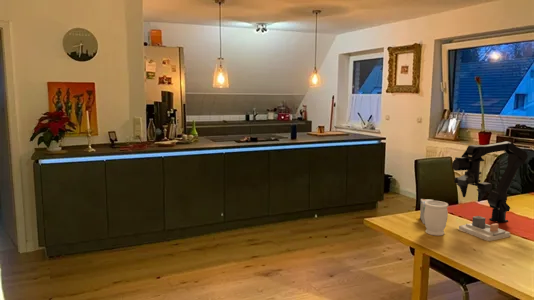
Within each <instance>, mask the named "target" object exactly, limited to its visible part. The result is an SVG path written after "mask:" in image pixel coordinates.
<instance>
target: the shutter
mask: <svg viewBox="0 0 534 300" xmlns="http://www.w3.org/2000/svg"><path fill="white" fill-rule="evenodd" d="M499 224H500V223H498V222H496V223H492V224H489V225H490V228H487V229H483V230H486V231H489V232H492V233H494V234H493V235H499V234H504V233H505V231H506V230H505V231H502V230H503V229H502V230H499V229H500V228H499ZM498 228H499V229H498Z"/></svg>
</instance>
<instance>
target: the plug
mask: <svg viewBox="0 0 534 300" xmlns="http://www.w3.org/2000/svg"><path fill="white" fill-rule="evenodd" d="M471 221H472V226H475V227H478V228H481V229H485V224H486V217H483V216H480V215H475V216H472V220H471Z"/></svg>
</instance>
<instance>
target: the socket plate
mask: <svg viewBox="0 0 534 300" xmlns="http://www.w3.org/2000/svg"><path fill="white" fill-rule="evenodd" d="M490 225H491V224H489V223H488V224H487V223H485V229H487V228H490ZM498 229H499V230H502V231H505V233H504V234H499V235H493V234H494V233H492V232H489V231H486V230H483V229H481V228H478V227H475V226H472V223H471V222H470V223H465V224H462V225H458V230H459V231H462V232H463V233H466V234H468V235H471V236H473V237H474V236H475V237H477V238H480V239H481V240H484V241H487V242H491V241H497V240H500V239H505V238H509V237H511V231H510V232H509V231H507V230H505V229H501V228H499V227H498Z"/></svg>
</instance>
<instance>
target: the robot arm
mask: <svg viewBox="0 0 534 300" xmlns="http://www.w3.org/2000/svg"><path fill="white" fill-rule="evenodd" d="M497 152H505V154H506V155H507V165H506V168H505V169H504V172H503V174H502V176H501V178H500V181H499V183H498V185H497V186H496V189H494V190H492V189H493V184H492V183H491V182H490V183H489V182H485V181H483V182H482V181H481V179H480V175H482V172H481V171H480V169H481V162H485V159H484V158H483V157H485V156H486V155H488V154H491V153H497ZM528 157H529V155H528V153H527V151H526V150H523V149H522V148H520V147H519V146H516V144H514V143H513V142H511V141H502V142H497V143H491V144H484V145H482V144H470V145H468V146H467V147H466V149H465V151H464V152H463V154H462V155H461V156H460V157H458V156H456V157H454V160H453V161H452V164H451V167H452V169H453V170H454V172H459V171H460V172H461V171H464V174H463V175H461V176H457V177H455V178H454V179H453V183H455V185H457V186H458V187H459V189H460V192H461V196H462V198H466V196H467V190H468V186H469V185H471V186H475V187H477V189H476V191H477V201H478V202H479V203H480V202H481V201H482V199H483V198H484V196H485V195H486V194H487V192H488V191H489V193H488V195H487V200H486V202H487V204H489V205H488V206H489V208H492V212H491V217H490V218H489V219H488V220H490V221H493V222H496V223H498V224H500V223H501V224H502V223H506V222H509V220H508V219H507V218H506V216H507V215H506V214H507V212H510V209H511V206H510V205H509V204H508V203H507V200H508V196H507V195H508V194H507V193H508V190H509V189H510V187H511V185H512V182H513V180H514V178H515V176H516V174H517V172H518V169H519V168H520V167H521V166H522V165H524V164H525V163H526V161H527V159H528Z"/></svg>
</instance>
